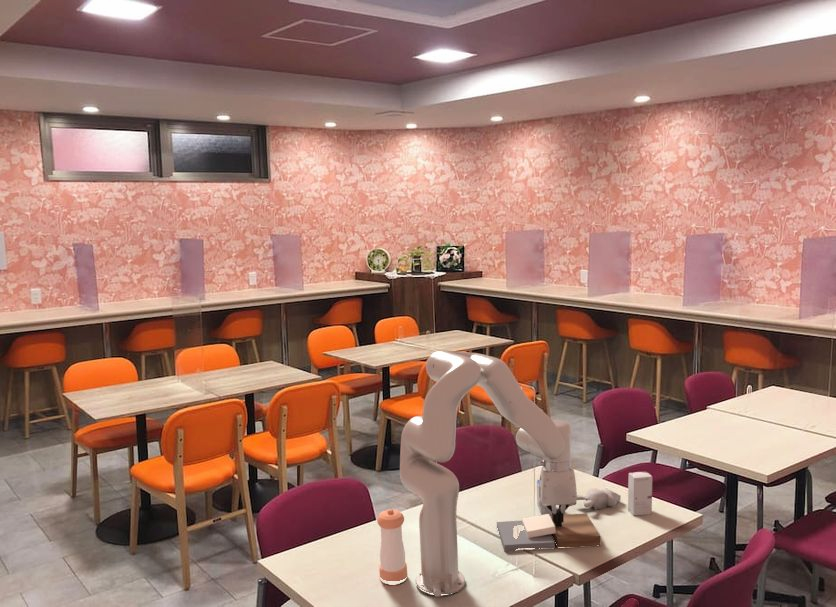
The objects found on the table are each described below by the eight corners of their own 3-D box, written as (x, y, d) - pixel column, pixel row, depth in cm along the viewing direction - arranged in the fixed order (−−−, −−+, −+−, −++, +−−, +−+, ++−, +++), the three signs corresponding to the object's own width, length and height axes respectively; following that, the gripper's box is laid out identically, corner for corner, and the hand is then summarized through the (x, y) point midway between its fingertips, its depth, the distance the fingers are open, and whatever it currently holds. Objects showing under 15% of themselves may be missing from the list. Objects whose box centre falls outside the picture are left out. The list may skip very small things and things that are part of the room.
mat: (554, 548, 199) (554, 542, 199) (504, 551, 199) (504, 545, 198) (543, 525, 213) (543, 519, 213) (496, 528, 212) (496, 522, 212)
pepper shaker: (392, 568, 193) (389, 501, 190) (413, 576, 188) (410, 507, 185) (374, 579, 187) (370, 511, 184) (395, 588, 182) (391, 518, 179)
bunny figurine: (627, 494, 223) (589, 499, 216) (625, 509, 224) (588, 515, 217) (606, 483, 231) (570, 488, 225) (605, 498, 232) (568, 503, 225)
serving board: (600, 545, 200) (600, 535, 199) (557, 548, 199) (557, 538, 199) (586, 522, 213) (586, 513, 213) (546, 525, 213) (546, 515, 212)
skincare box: (633, 516, 216) (633, 478, 215) (627, 509, 221) (627, 472, 219) (652, 514, 217) (653, 476, 215) (646, 507, 222) (646, 470, 220)
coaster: (555, 532, 202) (554, 526, 201) (528, 538, 202) (527, 531, 201) (549, 520, 210) (548, 513, 209) (522, 524, 210) (521, 518, 209)
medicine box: (555, 515, 219) (554, 489, 218) (540, 516, 219) (540, 489, 218) (551, 504, 227) (550, 478, 225) (536, 504, 227) (536, 479, 226)
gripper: (533, 470, 199) (534, 532, 202) (586, 467, 199) (587, 529, 202) (528, 460, 206) (529, 520, 209) (579, 457, 207) (580, 517, 210)
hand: (557, 524), depth 206 cm, fingers closed
